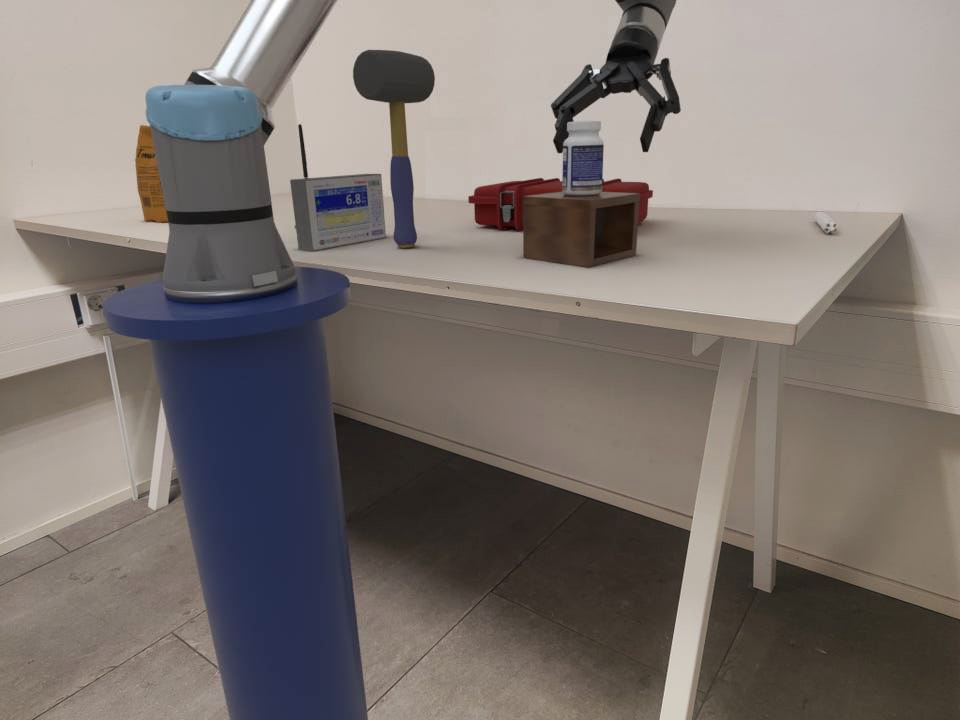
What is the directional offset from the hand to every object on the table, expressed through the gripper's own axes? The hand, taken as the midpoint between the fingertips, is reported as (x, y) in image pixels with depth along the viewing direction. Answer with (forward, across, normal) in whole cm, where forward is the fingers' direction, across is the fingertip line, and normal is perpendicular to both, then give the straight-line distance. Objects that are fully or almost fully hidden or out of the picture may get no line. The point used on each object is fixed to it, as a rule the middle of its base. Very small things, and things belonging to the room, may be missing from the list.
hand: (599, 146), depth 93 cm
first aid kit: (-6, +16, -29) cm, 34 cm away
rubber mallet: (+18, +30, -4) cm, 35 cm away
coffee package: (+10, +110, -12) cm, 111 cm away
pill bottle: (+9, 0, 0) cm, 9 cm away
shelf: (+16, 0, -6) cm, 17 cm away
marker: (-15, -30, -37) cm, 51 cm away
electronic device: (+18, +44, -4) cm, 48 cm away
